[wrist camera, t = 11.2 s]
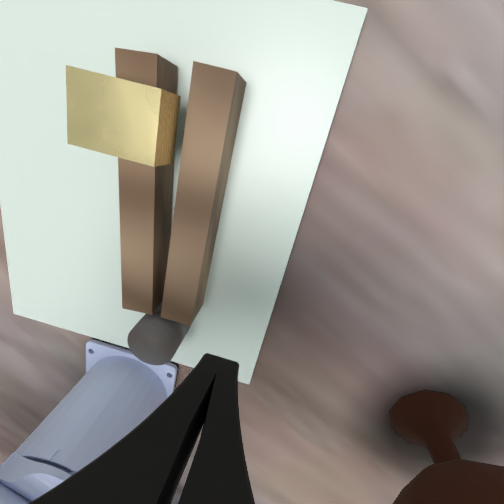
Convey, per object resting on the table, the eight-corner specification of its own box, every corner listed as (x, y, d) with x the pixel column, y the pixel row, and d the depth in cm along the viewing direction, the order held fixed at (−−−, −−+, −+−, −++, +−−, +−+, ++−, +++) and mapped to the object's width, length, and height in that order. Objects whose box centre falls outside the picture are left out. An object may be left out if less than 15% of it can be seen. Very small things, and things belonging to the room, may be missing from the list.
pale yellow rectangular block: (172, 163, 14) (153, 166, 12) (97, 143, 14) (67, 143, 12) (181, 96, 13) (161, 88, 11) (98, 75, 13) (65, 64, 11)
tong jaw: (167, 296, 20) (152, 314, 18) (140, 290, 20) (122, 308, 18) (177, 66, 15) (157, 53, 13) (140, 60, 15) (114, 47, 13)
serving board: (250, 374, 23) (248, 384, 22) (24, 306, 24) (13, 313, 23) (363, 17, 14) (367, 8, 13) (-14, -70, 15) (-35, -84, 14)
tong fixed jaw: (195, 343, 21) (180, 373, 19) (147, 329, 22) (126, 357, 19) (246, 82, 15) (234, 68, 12) (176, 65, 15) (149, 47, 12)
